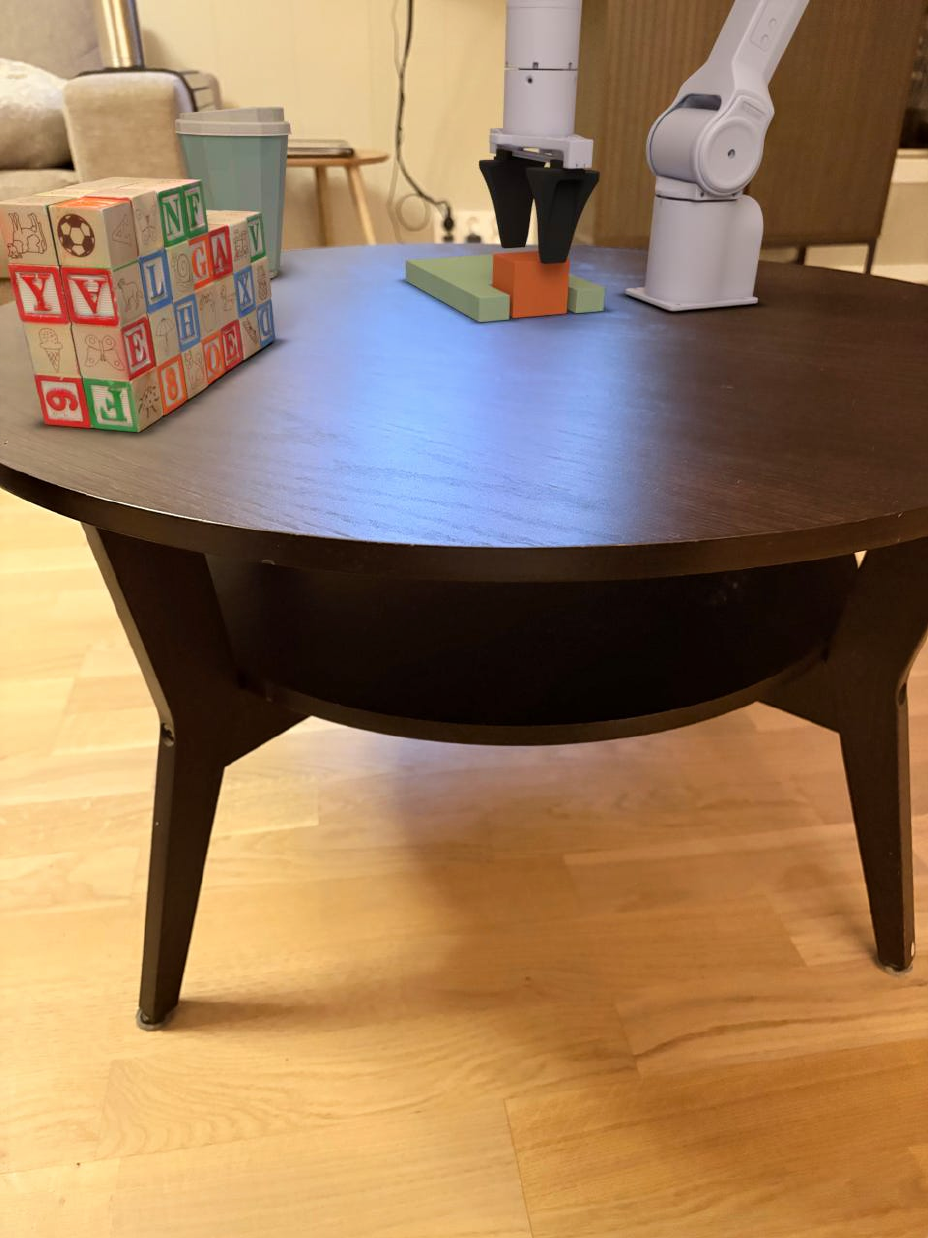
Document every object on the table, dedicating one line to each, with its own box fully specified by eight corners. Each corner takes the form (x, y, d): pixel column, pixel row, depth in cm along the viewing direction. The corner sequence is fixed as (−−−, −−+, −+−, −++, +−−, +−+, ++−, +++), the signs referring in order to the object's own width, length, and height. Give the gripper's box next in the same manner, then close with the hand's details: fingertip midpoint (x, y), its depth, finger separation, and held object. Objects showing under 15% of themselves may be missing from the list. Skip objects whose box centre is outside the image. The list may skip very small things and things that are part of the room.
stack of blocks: (201, 336, 73) (178, 161, 66) (277, 341, 72) (261, 164, 65) (42, 425, 55) (-10, 198, 48) (140, 434, 54) (99, 202, 47)
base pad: (515, 273, 96) (516, 252, 95) (603, 310, 82) (605, 287, 81) (405, 281, 92) (405, 259, 91) (479, 322, 78) (479, 297, 77)
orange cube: (543, 302, 84) (546, 250, 82) (566, 313, 81) (570, 258, 78) (491, 307, 82) (493, 253, 80) (512, 318, 79) (515, 262, 77)
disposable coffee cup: (171, 280, 91) (145, 105, 83) (231, 262, 99) (213, 101, 92) (266, 290, 88) (249, 108, 80) (320, 269, 96) (309, 104, 88)
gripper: (457, 68, 77) (456, 243, 84) (537, 70, 65) (528, 273, 72) (534, 68, 79) (527, 239, 86) (623, 71, 68) (606, 267, 75)
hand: (532, 254), depth 79 cm, fingers open, 7 cm apart
